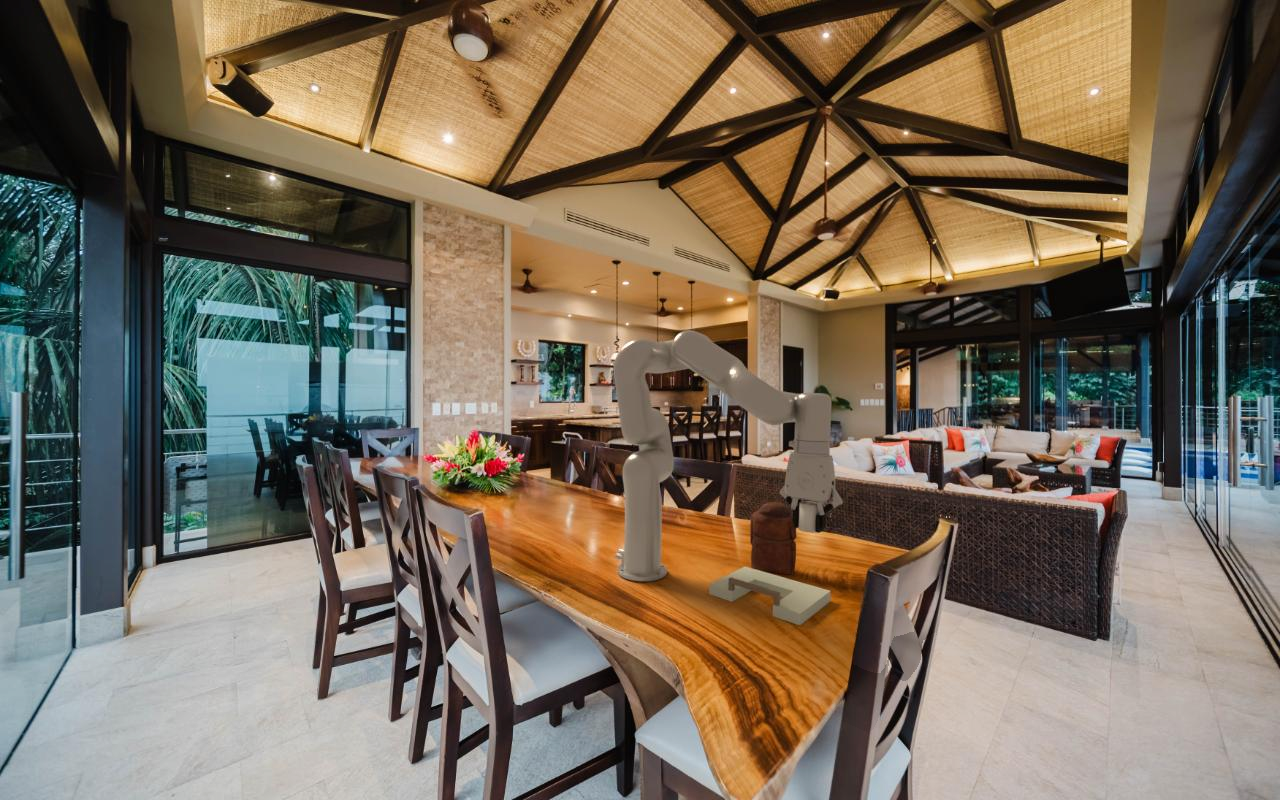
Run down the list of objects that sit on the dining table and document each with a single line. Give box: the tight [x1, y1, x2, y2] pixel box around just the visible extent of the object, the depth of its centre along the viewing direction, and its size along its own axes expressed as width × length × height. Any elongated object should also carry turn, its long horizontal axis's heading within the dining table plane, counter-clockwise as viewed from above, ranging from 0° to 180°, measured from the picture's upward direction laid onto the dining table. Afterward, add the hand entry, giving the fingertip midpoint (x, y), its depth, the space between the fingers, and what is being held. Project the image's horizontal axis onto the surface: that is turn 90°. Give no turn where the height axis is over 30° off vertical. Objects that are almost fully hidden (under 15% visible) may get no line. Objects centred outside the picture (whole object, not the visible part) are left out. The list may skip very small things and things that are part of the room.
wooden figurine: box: [749, 501, 797, 575], centre depth 132 cm, size 12×6×18 cm, turn 75°
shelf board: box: [708, 566, 832, 626], centre depth 114 cm, size 22×16×5 cm
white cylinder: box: [797, 500, 818, 534], centre depth 112 cm, size 4×4×6 cm
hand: (808, 528), depth 112 cm, fingers closed on white cylinder, 4 cm apart
